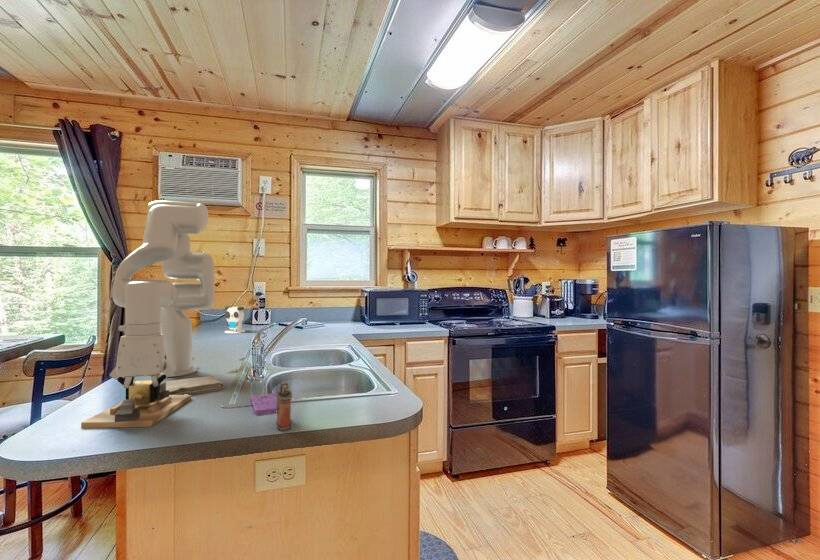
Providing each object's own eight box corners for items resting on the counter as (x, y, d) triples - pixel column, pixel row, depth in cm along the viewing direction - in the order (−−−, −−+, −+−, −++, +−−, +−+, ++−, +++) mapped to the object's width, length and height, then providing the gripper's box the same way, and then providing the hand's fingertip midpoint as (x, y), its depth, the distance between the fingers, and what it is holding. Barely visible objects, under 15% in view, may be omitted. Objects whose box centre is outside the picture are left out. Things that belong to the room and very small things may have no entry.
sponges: (276, 399, 114) (276, 392, 114) (283, 413, 103) (283, 406, 103) (250, 402, 111) (250, 395, 111) (254, 417, 99) (254, 409, 99)
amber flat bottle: (275, 420, 96) (276, 379, 96) (290, 418, 98) (290, 378, 97) (276, 432, 89) (277, 388, 89) (292, 430, 90) (293, 387, 90)
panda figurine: (219, 332, 231) (219, 306, 231) (234, 329, 242) (235, 305, 241) (234, 333, 226) (234, 307, 226) (249, 331, 237) (249, 306, 237)
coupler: (145, 407, 97) (146, 387, 96) (125, 409, 95) (125, 388, 95) (158, 396, 105) (158, 377, 105) (139, 397, 104) (140, 378, 104)
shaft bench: (134, 399, 109) (134, 381, 109) (190, 399, 111) (191, 380, 111) (80, 428, 89) (80, 405, 89) (150, 426, 91) (150, 404, 91)
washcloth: (149, 391, 118) (149, 381, 118) (213, 382, 130) (214, 372, 130) (156, 402, 109) (156, 391, 109) (224, 390, 121) (224, 380, 121)
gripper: (96, 332, 94) (96, 408, 94) (176, 331, 99) (175, 404, 99) (111, 328, 101) (111, 399, 102) (184, 327, 106) (184, 394, 106)
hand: (142, 400), depth 100 cm, fingers closed on coupler, 4 cm apart
